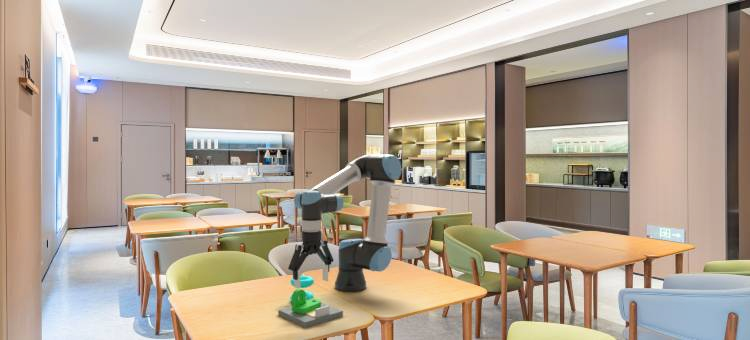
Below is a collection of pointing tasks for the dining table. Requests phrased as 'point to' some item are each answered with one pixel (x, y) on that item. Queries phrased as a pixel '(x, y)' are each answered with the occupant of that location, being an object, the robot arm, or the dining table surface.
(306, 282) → the donuts
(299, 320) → the grey square plate
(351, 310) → the dining table surface
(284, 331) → the dining table surface
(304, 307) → the mechanical part
